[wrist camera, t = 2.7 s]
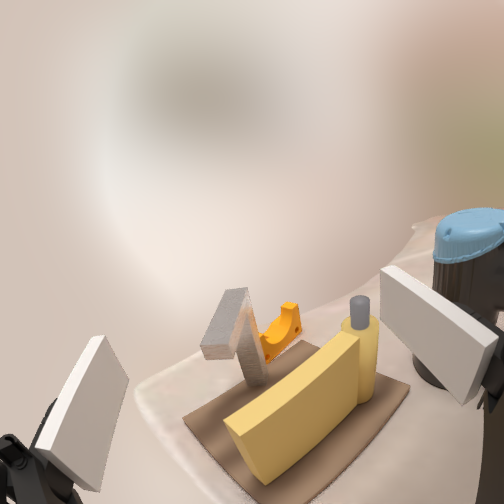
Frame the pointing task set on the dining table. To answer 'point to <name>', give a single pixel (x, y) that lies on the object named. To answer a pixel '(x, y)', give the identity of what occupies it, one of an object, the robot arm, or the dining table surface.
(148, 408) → the dining table surface
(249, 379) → the hook
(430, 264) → the dining table surface
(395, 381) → the board
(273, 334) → the pipe clamp
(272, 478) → the hinged door
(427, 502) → the dining table surface
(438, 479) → the dining table surface
